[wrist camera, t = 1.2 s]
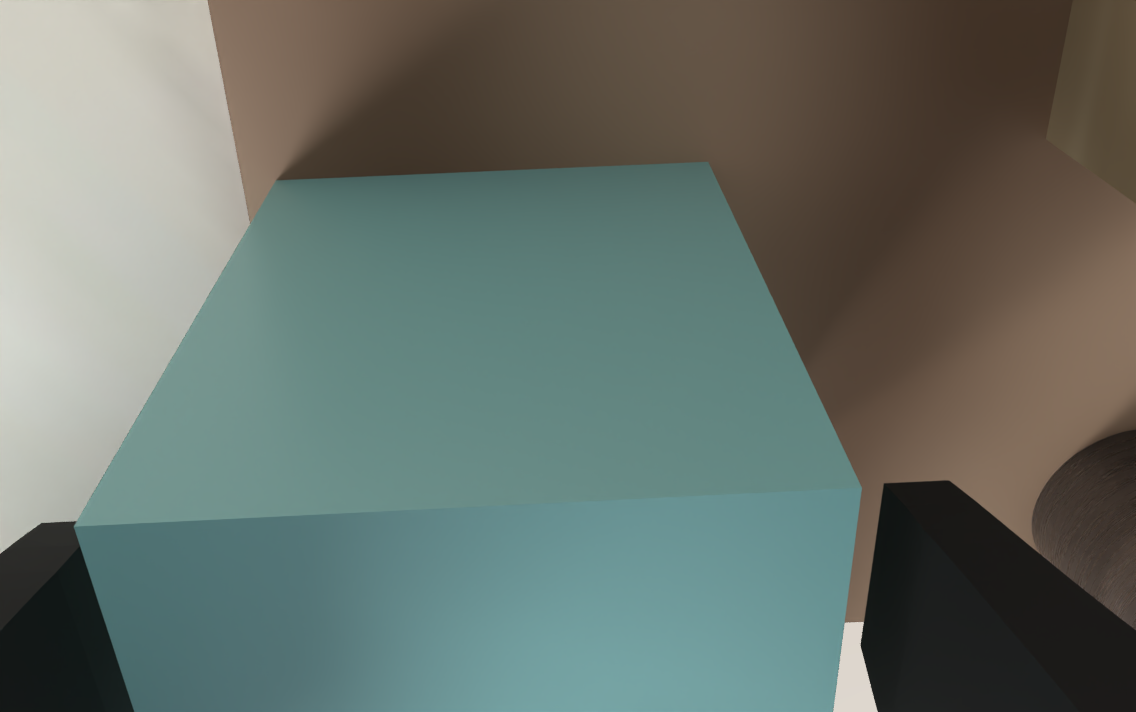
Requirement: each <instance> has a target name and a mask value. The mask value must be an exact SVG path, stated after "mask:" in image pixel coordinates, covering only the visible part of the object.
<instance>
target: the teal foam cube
mask: <svg viewBox="0 0 1136 712" xmlns="http://www.w3.org/2000/svg"><path fill="white" fill-rule="evenodd" d="M861 491H862V487H861V485H860V483H859V481H858V478H857V476H856V474H855V472H854V470H853V468H852V466H851V464H850V461H849V459H848V457H847V455H846V453H845V451H844V449H843V447H842V444H841V442H840V440H839V438H838V436H837V434H836V432H835V430H834V428H833V425H832V423H831V421H830V419H829V417H828V415H827V413H826V411H825V408H824V406H823V404H822V402H821V400H820V398H819V396H818V394H817V391H816V389H815V387H814V385H813V383H812V381H811V379H810V377H809V375H808V372H807V370H806V368H805V366H804V364H803V362H802V360H801V358H800V355H799V353H798V351H797V349H796V347H795V345H794V343H793V341H792V338H791V336H790V334H789V332H788V330H787V328H786V326H785V324H784V322H783V319H782V317H781V315H780V313H779V311H778V309H777V307H776V305H775V302H774V300H773V298H772V296H771V294H770V292H769V290H768V288H767V285H766V283H765V281H764V279H763V277H762V275H761V273H760V271H759V269H758V266H757V264H756V262H755V260H754V258H753V256H752V254H751V252H750V249H749V247H748V245H747V243H746V241H745V239H744V237H743V235H742V232H741V230H740V228H739V226H738V224H737V222H736V220H735V218H734V216H733V213H732V211H731V209H730V207H729V205H728V203H727V201H726V199H725V196H724V194H723V192H722V190H721V188H720V186H719V184H718V182H717V179H716V177H715V175H714V173H713V171H712V169H711V167H710V165H709V163H708V162H691V163H668V164H645V165H622V166H598V167H575V168H552V169H529V170H506V171H483V172H459V173H436V174H413V175H390V176H367V177H344V178H320V179H297V180H276V181H275V183H274V184H273V186H272V188H271V190H270V191H269V193H268V195H267V196H266V198H265V200H264V202H263V203H262V205H261V207H260V208H259V210H258V212H257V214H256V215H255V217H254V219H253V220H252V222H251V224H250V226H249V227H248V229H247V231H246V232H245V234H244V236H243V238H242V239H241V241H240V243H239V244H238V246H237V248H236V250H235V251H234V253H233V255H232V256H231V258H230V260H229V262H228V263H227V265H226V267H225V268H224V270H223V272H222V274H221V275H220V277H219V279H218V280H217V282H216V284H215V286H214V287H213V289H212V291H211V292H210V294H209V296H208V297H207V299H206V301H205V303H204V304H203V306H202V308H201V309H200V311H199V313H198V315H197V316H196V318H195V320H194V321H193V323H192V325H191V327H190V328H189V330H188V332H187V333H186V335H185V337H184V339H183V340H182V342H181V344H180V345H179V347H178V349H177V351H176V352H175V354H174V356H173V357H172V359H171V361H170V363H169V364H168V366H167V368H166V369H165V371H164V373H163V375H162V376H161V378H160V380H159V381H158V383H157V385H156V387H155V388H154V390H153V392H152V393H151V395H150V397H149V399H148V400H147V402H146V404H145V405H144V407H143V409H142V411H141V412H140V414H139V416H138V417H137V419H136V421H135V423H134V424H133V426H132V428H131V429H130V431H129V433H128V435H127V436H126V438H125V440H124V441H123V443H122V445H121V447H120V448H119V450H118V452H117V453H116V455H115V457H114V459H113V460H112V462H111V464H110V465H109V467H108V469H107V471H106V472H105V474H104V476H103V477H102V479H101V481H100V483H99V484H98V486H97V488H96V489H95V491H94V493H93V495H92V496H91V498H90V500H89V501H88V503H87V505H86V507H85V508H84V510H83V512H82V513H81V515H80V517H79V519H78V520H77V522H76V524H75V525H74V529H75V532H76V535H77V538H78V541H79V544H80V547H81V550H82V553H83V556H84V559H85V562H86V566H87V569H88V572H89V575H90V578H91V581H92V584H93V587H94V590H95V593H96V596H97V599H98V602H99V605H100V608H101V611H102V614H103V618H104V621H105V624H106V627H107V630H108V633H109V636H110V639H111V642H112V645H113V648H114V651H115V654H116V657H117V660H118V663H119V666H120V669H121V673H122V676H123V679H124V682H125V685H126V688H127V691H128V694H129V697H130V700H131V703H132V706H133V709H134V712H833V708H834V700H835V692H836V685H837V677H838V669H839V661H840V654H841V646H842V638H843V630H844V623H845V615H846V607H847V600H848V592H849V584H850V576H851V569H852V561H853V553H854V545H855V538H856V530H857V522H858V514H859V507H860V499H861Z"/></svg>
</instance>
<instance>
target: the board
mask: <svg viewBox="0 0 1136 712" xmlns="http://www.w3.org/2000/svg"><path fill="white" fill-rule="evenodd" d="M1072 2H1073V0H208V5H209V10H210V15H211V20H212V26H213V31H214V36H215V41H216V47H217V52H218V57H219V62H220V68H221V73H222V78H223V83H224V89H225V94H226V99H227V104H228V110H229V115H230V120H231V125H232V131H233V136H234V141H235V146H236V152H237V157H238V162H239V167H240V173H241V178H242V183H243V188H244V193H245V199H246V204H247V209H248V214H249V220H250V224H251V222H252V220H253V219H254V217H255V215H256V214H257V212H258V210H259V208H260V207H261V205H262V203H263V202H264V200H265V198H266V196H267V195H268V193H269V191H270V190H271V188H272V186H273V184H274V183H275V181H276V180H297V179H320V178H344V177H367V176H390V175H413V174H436V173H459V172H483V171H506V170H529V169H552V168H575V167H598V166H622V165H645V164H668V163H691V162H708V163H709V165H710V167H711V169H712V171H713V173H714V175H715V177H716V179H717V182H718V184H719V186H720V188H721V190H722V192H723V194H724V196H725V199H726V201H727V203H728V205H729V207H730V209H731V211H732V213H733V216H734V218H735V220H736V222H737V224H738V226H739V228H740V230H741V232H742V235H743V237H744V239H745V241H746V243H747V245H748V247H749V249H750V252H751V254H752V256H753V258H754V260H755V262H756V264H757V266H758V269H759V271H760V273H761V275H762V277H763V279H764V281H765V283H766V285H767V288H768V290H769V292H770V294H771V296H772V298H773V300H774V302H775V305H776V307H777V309H778V311H779V313H780V315H781V317H782V319H783V322H784V324H785V326H786V328H787V330H788V332H789V334H790V336H791V338H792V341H793V343H794V345H795V347H796V349H797V351H798V353H799V355H800V358H801V360H802V362H803V364H804V366H805V368H806V370H807V372H808V375H809V377H810V379H811V381H812V383H813V385H814V387H815V389H816V391H817V394H818V396H819V398H820V400H821V402H822V404H823V406H824V408H825V411H826V413H827V415H828V417H829V419H830V421H831V423H832V425H833V428H834V430H835V432H836V434H837V436H838V438H839V440H840V442H841V444H842V447H843V449H844V451H845V453H846V455H847V457H848V459H849V461H850V464H851V466H852V468H853V470H854V472H855V474H856V476H857V478H858V481H859V483H860V485H861V487H862V491H861V499H860V507H859V514H858V522H857V530H856V538H855V545H854V553H853V561H852V569H851V576H850V584H849V592H848V600H847V607H846V615H845V622H864V618H865V611H866V604H867V597H868V590H869V583H870V576H871V569H872V562H873V555H874V548H875V541H876V534H877V527H878V520H879V513H880V506H881V499H882V492H883V485H884V483H900V482H921V481H942V480H949V481H951V482H952V483H953V484H955V485H956V486H957V487H958V488H960V489H961V490H962V491H964V492H965V493H966V494H967V495H969V496H970V497H971V498H972V499H974V500H975V501H976V502H977V503H979V504H980V505H981V506H982V507H984V508H985V509H986V510H987V511H988V512H990V513H991V514H992V515H993V516H995V517H996V518H997V519H998V520H999V521H1001V522H1002V523H1003V524H1004V525H1005V526H1007V527H1008V528H1009V529H1010V530H1011V531H1013V532H1014V533H1015V534H1016V535H1018V536H1019V537H1020V538H1021V539H1022V540H1024V541H1025V542H1026V543H1027V544H1028V545H1030V546H1031V547H1032V548H1033V549H1035V550H1036V551H1037V552H1038V553H1039V551H1038V550H1037V548H1036V545H1035V543H1034V540H1033V535H1032V515H1033V510H1034V507H1035V504H1036V501H1037V499H1038V497H1039V495H1040V493H1041V491H1042V489H1043V488H1044V486H1045V485H1046V483H1047V482H1048V480H1049V479H1050V478H1051V477H1052V475H1053V474H1054V473H1055V472H1056V471H1057V470H1058V469H1059V468H1060V467H1061V466H1062V465H1063V464H1064V463H1065V462H1066V461H1068V460H1069V459H1070V458H1071V457H1073V456H1074V455H1075V454H1077V453H1078V452H1080V451H1081V450H1083V449H1084V448H1086V447H1088V446H1090V445H1092V444H1093V443H1095V442H1097V441H1099V440H1102V439H1104V438H1107V437H1109V436H1112V435H1115V434H1118V433H1121V432H1125V431H1130V430H1135V429H1136V204H1135V203H1134V202H1133V201H1131V200H1130V199H1129V198H1127V197H1126V196H1124V195H1123V194H1122V193H1120V192H1119V191H1117V190H1116V189H1115V188H1113V187H1112V186H1110V185H1109V184H1108V183H1106V182H1105V181H1103V180H1102V179H1101V178H1099V177H1098V176H1096V175H1095V174H1094V173H1092V172H1091V171H1089V170H1088V169H1087V168H1085V167H1084V166H1082V165H1081V164H1080V163H1078V162H1077V161H1075V160H1074V159H1073V158H1071V157H1070V156H1068V155H1067V154H1066V153H1064V152H1063V151H1061V150H1060V149H1059V148H1057V147H1056V146H1055V145H1053V144H1052V143H1050V142H1049V141H1048V140H1046V136H1047V130H1048V125H1049V120H1050V115H1051V110H1052V105H1053V100H1054V95H1055V89H1056V84H1057V79H1058V74H1059V69H1060V64H1061V59H1062V54H1063V48H1064V43H1065V38H1066V33H1067V28H1068V23H1069V18H1070V13H1071V7H1072ZM1039 554H1040V553H1039Z"/></svg>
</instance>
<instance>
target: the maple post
mask: <svg viewBox="0 0 1136 712" xmlns="http://www.w3.org/2000/svg"><path fill="white" fill-rule="evenodd" d="M1046 140H1048V141H1049V142H1050V143H1052V144H1053V145H1055V146H1056V147H1057V148H1059V149H1060V150H1061V151H1063V152H1064V153H1066V154H1067V155H1068V156H1070V157H1071V158H1073V159H1074V160H1075V161H1077V162H1078V163H1080V164H1081V165H1082V166H1084V167H1085V168H1087V169H1088V170H1089V171H1091V172H1092V173H1094V174H1095V175H1096V176H1098V177H1099V178H1101V179H1102V180H1103V181H1105V182H1106V183H1108V184H1109V185H1110V186H1112V187H1113V188H1115V189H1116V190H1117V191H1119V192H1120V193H1122V194H1123V195H1124V196H1126V197H1127V198H1129V199H1130V200H1131V201H1133V202H1134V203H1135V204H1136V0H1073V2H1072V7H1071V13H1070V18H1069V23H1068V28H1067V33H1066V38H1065V43H1064V48H1063V54H1062V59H1061V64H1060V69H1059V74H1058V79H1057V84H1056V89H1055V95H1054V100H1053V105H1052V110H1051V115H1050V120H1049V125H1048V130H1047V136H1046Z"/></svg>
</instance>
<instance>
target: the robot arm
mask: <svg viewBox="0 0 1136 712" xmlns="http://www.w3.org/2000/svg"><path fill="white" fill-rule="evenodd" d="M76 522H77V521H75V522H54V523H41V524H40V525H38V526H37V527H36V528H34V529H33V530H31V531H30V532H29V533H27V534H26V535H24V536H23V537H22V538H20V539H19V540H18V541H16V542H15V543H14V544H12V545H11V546H10V547H9V548H7V549H6V550H5V551H3V552H2V553H1V554H0V712H134V709H133V706H132V703H131V700H130V697H129V694H128V691H127V688H126V685H125V682H124V679H123V676H122V673H121V669H120V666H119V663H118V660H117V657H116V654H115V651H114V648H113V645H112V642H111V639H110V636H109V633H108V630H107V627H106V624H105V621H104V618H103V614H102V611H101V608H100V605H99V602H98V599H97V596H96V593H95V590H94V587H93V584H92V581H91V578H90V575H89V572H88V569H87V566H86V562H85V559H84V556H83V553H82V550H81V547H80V544H79V541H78V538H77V535H76V532H75V529H74V525H75V524H76ZM861 649H862V653H863V656H864V660H865V664H866V668H867V672H868V676H869V680H870V684H871V688H872V692H873V695H874V699H875V703H876V707H877V710H878V712H1136V630H1135V629H1134V628H1132V627H1131V626H1130V625H1129V624H1127V623H1126V622H1125V621H1123V620H1122V619H1121V618H1119V617H1118V616H1117V615H1116V614H1114V613H1113V612H1112V611H1110V610H1109V609H1108V608H1107V607H1105V606H1104V605H1103V604H1102V603H1100V602H1099V601H1098V600H1096V599H1095V598H1094V597H1093V596H1091V595H1090V594H1089V593H1088V592H1086V591H1085V590H1084V589H1083V588H1081V587H1080V586H1079V585H1078V584H1076V583H1075V582H1074V581H1073V580H1071V579H1070V578H1069V577H1068V576H1066V575H1065V574H1064V573H1063V572H1061V571H1060V570H1059V569H1058V568H1057V567H1055V566H1054V565H1053V564H1052V563H1050V562H1049V561H1048V560H1047V559H1046V558H1044V557H1043V556H1042V555H1041V554H1039V553H1038V552H1037V551H1036V550H1035V549H1033V548H1032V547H1031V546H1030V545H1028V544H1027V543H1026V542H1025V541H1024V540H1022V539H1021V538H1020V537H1019V536H1018V535H1016V534H1015V533H1014V532H1013V531H1011V530H1010V529H1009V528H1008V527H1007V526H1005V525H1004V524H1003V523H1002V522H1001V521H999V520H998V519H997V518H996V517H995V516H993V515H992V514H991V513H990V512H988V511H987V510H986V509H985V508H984V507H982V506H981V505H980V504H979V503H977V502H976V501H975V500H974V499H972V498H971V497H970V496H969V495H967V494H966V493H965V492H964V491H962V490H961V489H960V488H958V487H957V486H956V485H955V484H953V483H952V482H951V481H949V480H942V481H921V482H900V483H884V485H883V492H882V499H881V506H880V513H879V520H878V527H877V534H876V541H875V548H874V555H873V562H872V569H871V576H870V583H869V590H868V597H867V604H866V611H865V618H864V626H863V632H862V639H861Z"/></svg>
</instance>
